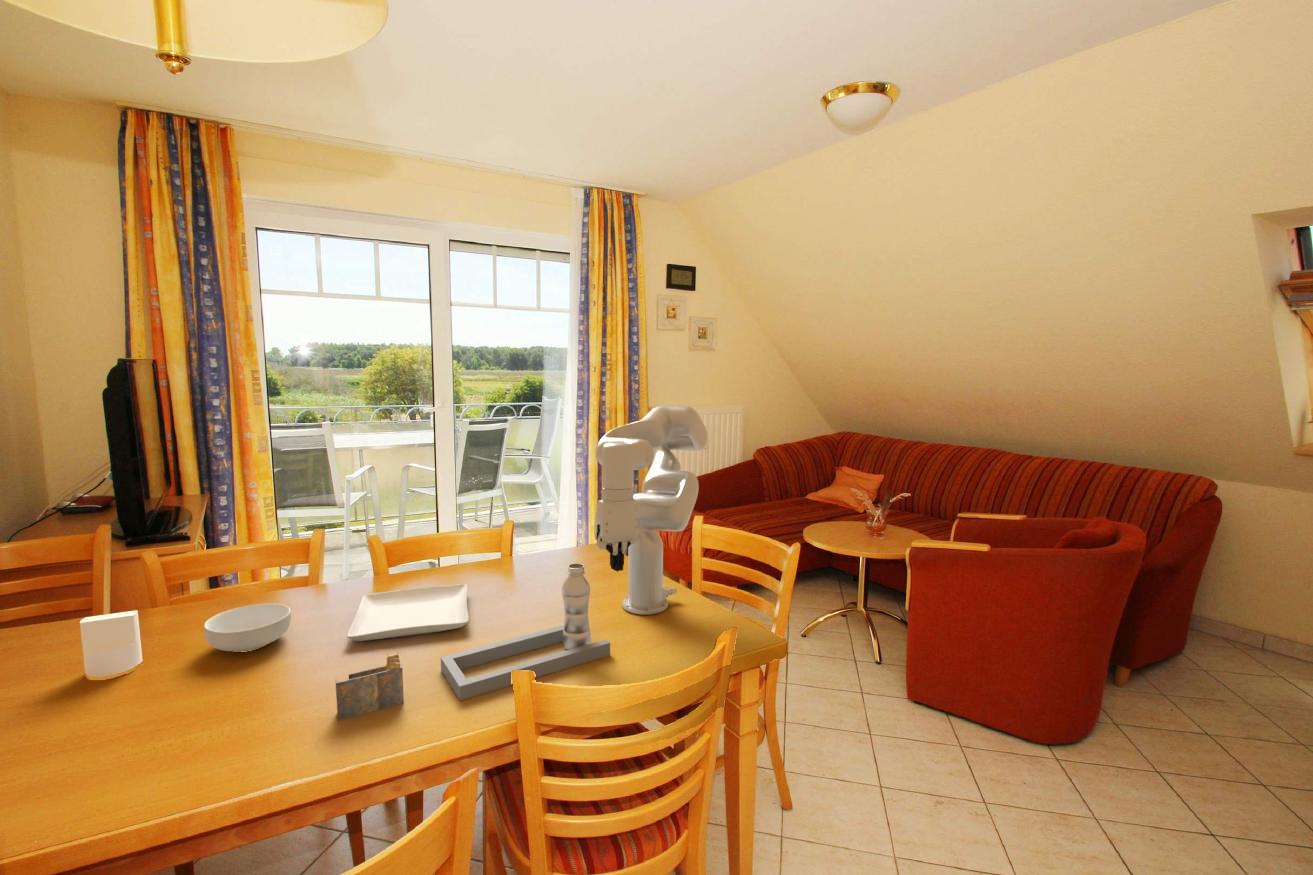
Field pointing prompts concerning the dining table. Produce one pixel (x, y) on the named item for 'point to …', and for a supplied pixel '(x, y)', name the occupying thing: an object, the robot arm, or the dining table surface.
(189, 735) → the dining table surface
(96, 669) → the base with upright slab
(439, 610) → the square plate
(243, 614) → the cereal bowl
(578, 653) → the u rest
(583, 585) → the plastic bottle
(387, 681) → the ruin model on sheet
